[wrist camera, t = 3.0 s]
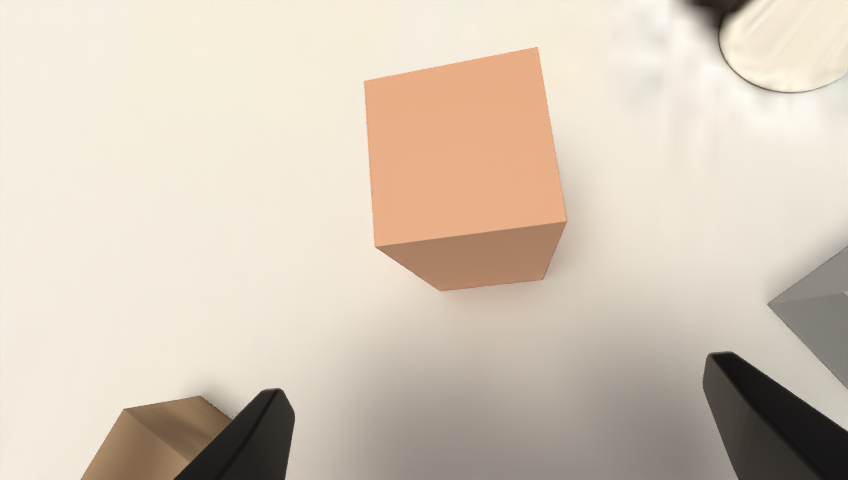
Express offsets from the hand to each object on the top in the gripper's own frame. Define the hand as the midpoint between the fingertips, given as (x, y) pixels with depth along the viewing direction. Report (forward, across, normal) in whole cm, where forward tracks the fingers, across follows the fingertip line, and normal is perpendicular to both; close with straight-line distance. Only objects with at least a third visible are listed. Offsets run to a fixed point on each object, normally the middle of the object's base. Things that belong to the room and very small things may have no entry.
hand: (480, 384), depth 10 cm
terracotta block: (+13, 0, +4) cm, 14 cm away
